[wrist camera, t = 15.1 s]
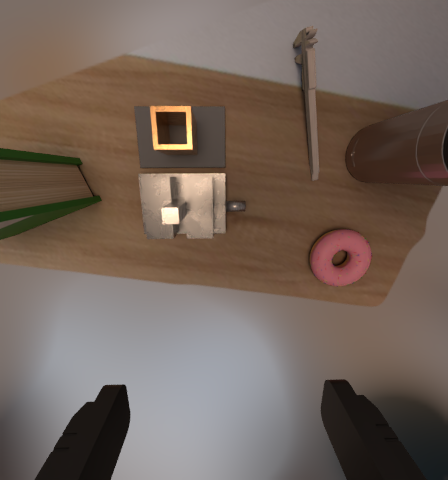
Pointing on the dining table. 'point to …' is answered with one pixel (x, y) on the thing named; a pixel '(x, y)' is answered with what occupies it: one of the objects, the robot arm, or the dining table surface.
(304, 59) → the caliper
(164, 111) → the copper collar
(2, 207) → the hardback book
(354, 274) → the doughnut
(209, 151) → the slate pad
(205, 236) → the grey slotted block
